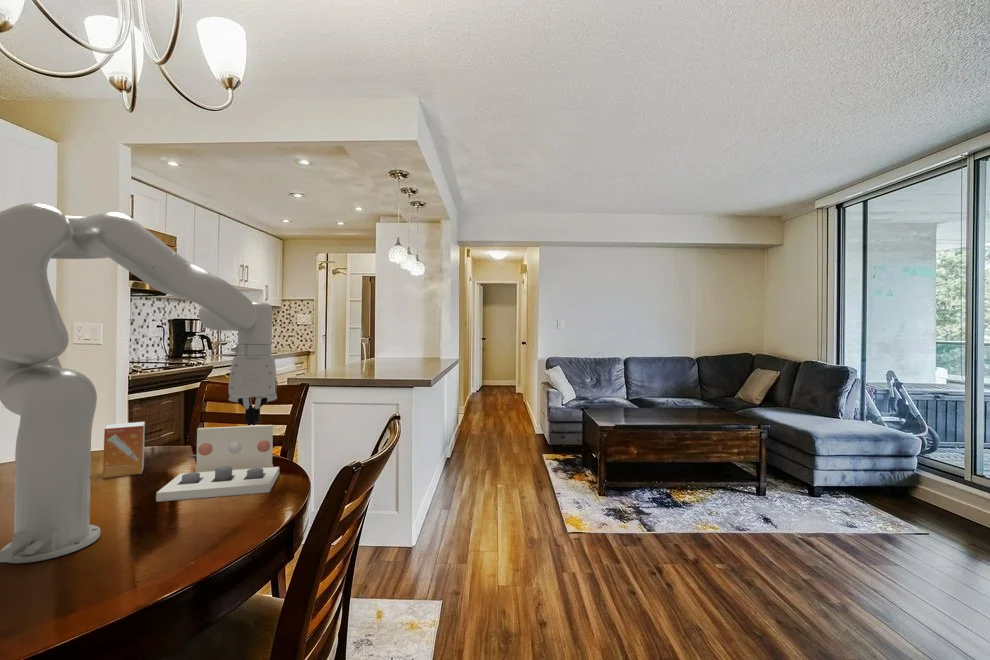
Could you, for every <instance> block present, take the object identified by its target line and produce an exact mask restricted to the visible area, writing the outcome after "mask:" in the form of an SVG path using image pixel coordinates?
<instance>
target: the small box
mask: <svg viewBox="0 0 990 660" xmlns="http://www.w3.org/2000/svg"><path fill="white" fill-rule="evenodd" d="M145 429H146V421H136V422H123V423H113V424H106V427H105V428H104V431H103V432H104V436H103V458H102V459H103V460H102V462H103V464H102V466H103V467H102V478H103V479H108V478H116V477H124V476H133V475H134V476H135V475H142V474H143V471H144V468H145V437H146V436H145V435H146V434H145Z"/></svg>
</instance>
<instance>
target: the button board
mask: <svg viewBox="0 0 990 660" xmlns="http://www.w3.org/2000/svg"><path fill="white" fill-rule="evenodd" d="M253 469H254V468H253ZM262 469H263V478H261V479H247V471H248V470H250V469H239V470H232V480H231V481H221V482H215V471H210V472H194V473H200V482H199V483H194V484H182V475H184V474H188V473H189V472H184V473H179V474H178V475H177V476H175V477H174V478H173V479H171V480H169V482H168V483H166V484H165V485H164V486H162V488H160V489H159V490H158V491H156V494H155V495H156V496H155V501H156V502H168V501H170V502H171V501H181V500H182V501H183V500H193V499H194V500H195V499H205V498H217V497H228V496H240V495H242V496H243V495H252V494H253V495H256V494H264V493H265V494H266V493H270V492H271V490H272V488H273V486H274V484H275V482H276V481H277V479H278V477H279V475H280V466H273V467H268V468H262Z"/></svg>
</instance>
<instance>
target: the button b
mask: <svg viewBox="0 0 990 660" xmlns="http://www.w3.org/2000/svg"><path fill="white" fill-rule="evenodd" d="M231 480H232V467H231V466H224V467H219V468H216V469H215V482H221V481H231Z"/></svg>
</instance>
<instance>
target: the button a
mask: <svg viewBox="0 0 990 660" xmlns="http://www.w3.org/2000/svg"><path fill="white" fill-rule="evenodd" d="M187 473H188V474H184V475H182V484H194V483H199V482H200V473H195V472H187Z"/></svg>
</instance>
